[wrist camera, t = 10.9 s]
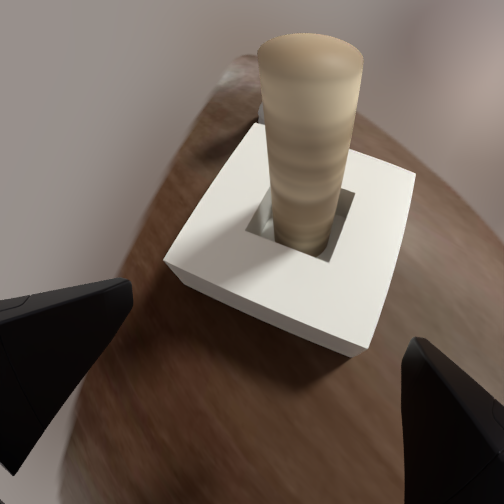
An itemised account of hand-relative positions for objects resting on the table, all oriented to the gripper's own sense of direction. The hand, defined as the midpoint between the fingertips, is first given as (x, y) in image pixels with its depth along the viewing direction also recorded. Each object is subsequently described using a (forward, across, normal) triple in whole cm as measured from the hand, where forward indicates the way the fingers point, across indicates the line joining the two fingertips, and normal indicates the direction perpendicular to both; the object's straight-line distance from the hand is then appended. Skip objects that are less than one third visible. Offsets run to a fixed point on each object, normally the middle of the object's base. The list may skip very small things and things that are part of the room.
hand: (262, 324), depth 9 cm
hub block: (+13, 0, +2) cm, 13 cm away
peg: (+12, 0, +1) cm, 12 cm away
